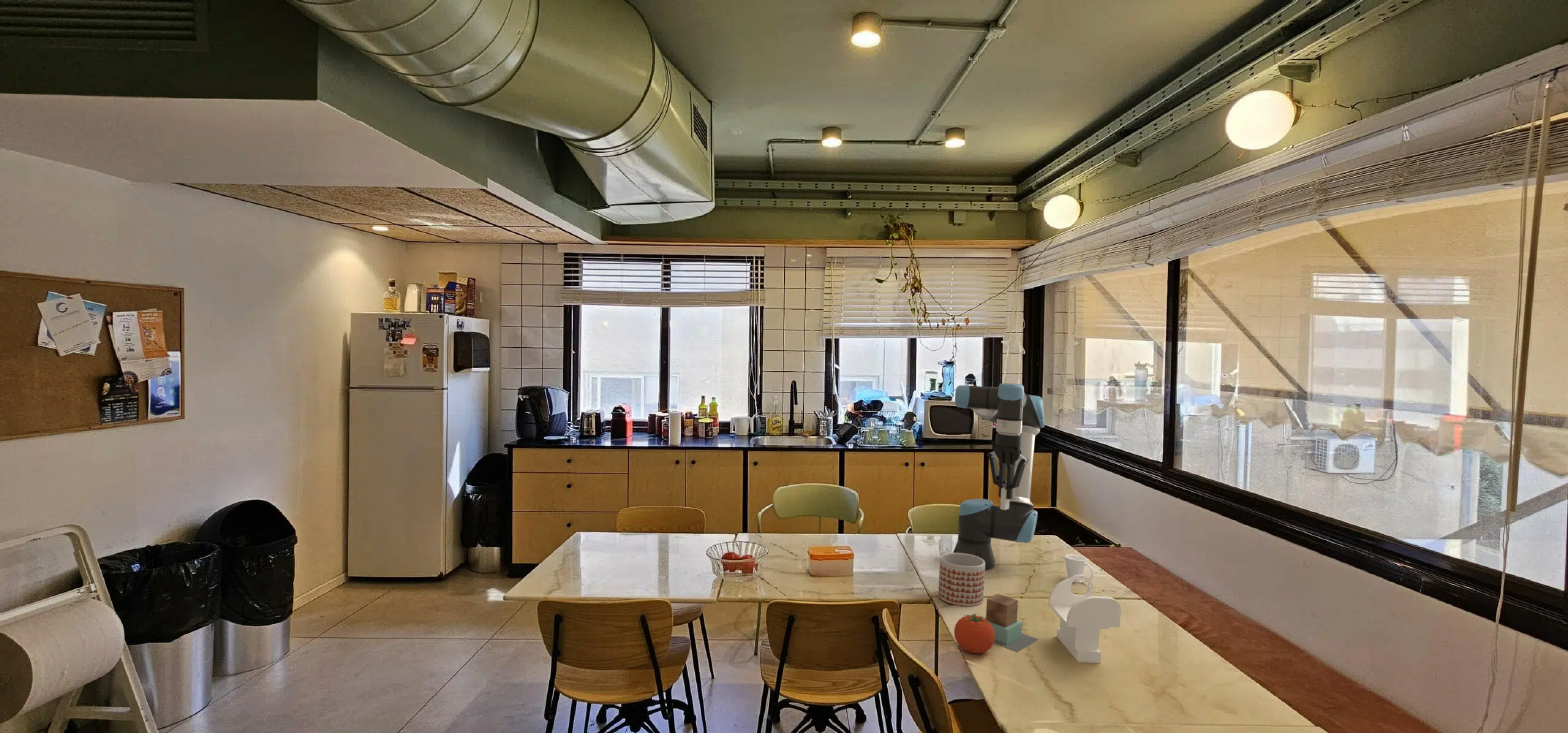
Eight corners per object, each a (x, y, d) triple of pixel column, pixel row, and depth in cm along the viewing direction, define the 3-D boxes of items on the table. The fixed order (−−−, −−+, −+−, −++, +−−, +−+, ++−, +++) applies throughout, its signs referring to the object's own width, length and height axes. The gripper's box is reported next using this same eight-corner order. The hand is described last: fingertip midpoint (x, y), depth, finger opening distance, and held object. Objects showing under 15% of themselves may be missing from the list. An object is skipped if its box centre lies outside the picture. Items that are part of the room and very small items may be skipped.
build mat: (963, 632, 187) (963, 631, 187) (985, 621, 195) (985, 619, 195) (1017, 653, 175) (1017, 652, 175) (1038, 640, 184) (1038, 639, 184)
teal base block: (979, 634, 185) (980, 620, 185) (994, 626, 191) (995, 612, 191) (1006, 644, 180) (1007, 629, 179) (1021, 636, 185) (1022, 622, 185)
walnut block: (985, 620, 185) (986, 598, 185) (996, 614, 189) (997, 593, 189) (1006, 627, 181) (1007, 605, 181) (1016, 621, 185) (1018, 600, 185)
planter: (986, 596, 215) (988, 556, 214) (979, 611, 202) (981, 569, 202) (943, 588, 221) (945, 549, 220) (933, 602, 208) (935, 561, 208)
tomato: (987, 665, 169) (989, 625, 168) (947, 653, 174) (949, 615, 174) (998, 649, 177) (1000, 612, 177) (960, 639, 183) (962, 603, 182)
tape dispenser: (1046, 637, 186) (1050, 573, 185) (1093, 639, 186) (1097, 575, 185) (1066, 661, 172) (1070, 592, 171) (1117, 664, 172) (1121, 595, 171)
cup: (1071, 575, 238) (1072, 553, 237) (1098, 584, 229) (1099, 561, 229) (1059, 578, 234) (1060, 556, 233) (1086, 588, 225) (1087, 564, 225)
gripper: (983, 431, 210) (979, 506, 211) (1022, 437, 201) (1018, 515, 202) (995, 430, 216) (991, 502, 217) (1034, 435, 206) (1030, 511, 207)
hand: (1004, 508), depth 209 cm, fingers closed
